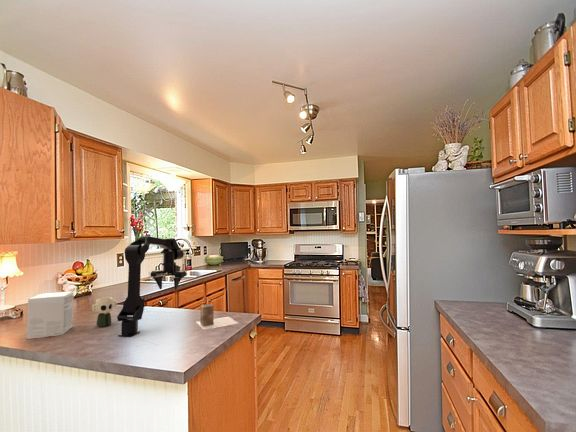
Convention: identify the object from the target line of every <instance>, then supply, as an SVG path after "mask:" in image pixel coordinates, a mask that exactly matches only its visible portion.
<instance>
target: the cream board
mask: <svg viewBox="0 0 576 432" xmlns="http://www.w3.org/2000/svg"><path fill="white" fill-rule="evenodd" d="M196 324H197V325H198V326H199V327H200V328H201V329H202V330H203V331H204V330H210V329H215V328H220V327H225V326H227V327H228V326H232V325H236V324H239V322H237V321H236V320H235V319H233V318H232V317H230V316H224V317H218V318H214V325H210V326H204V327H203V326H202V325H201V324H200V320H199V321H196Z"/></svg>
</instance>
